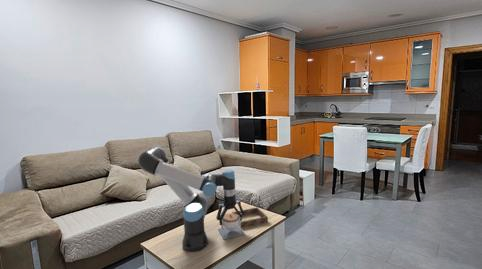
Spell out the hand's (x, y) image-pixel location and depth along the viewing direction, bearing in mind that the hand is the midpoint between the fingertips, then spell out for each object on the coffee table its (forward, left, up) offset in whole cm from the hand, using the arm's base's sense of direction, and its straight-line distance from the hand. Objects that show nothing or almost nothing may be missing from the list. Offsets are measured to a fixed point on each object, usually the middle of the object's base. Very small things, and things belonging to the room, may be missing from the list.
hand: (231, 227), depth 172 cm
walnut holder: (+18, +11, -3) cm, 21 cm away
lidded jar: (0, 0, -1) cm, 1 cm away
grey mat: (0, 0, -3) cm, 3 cm away
